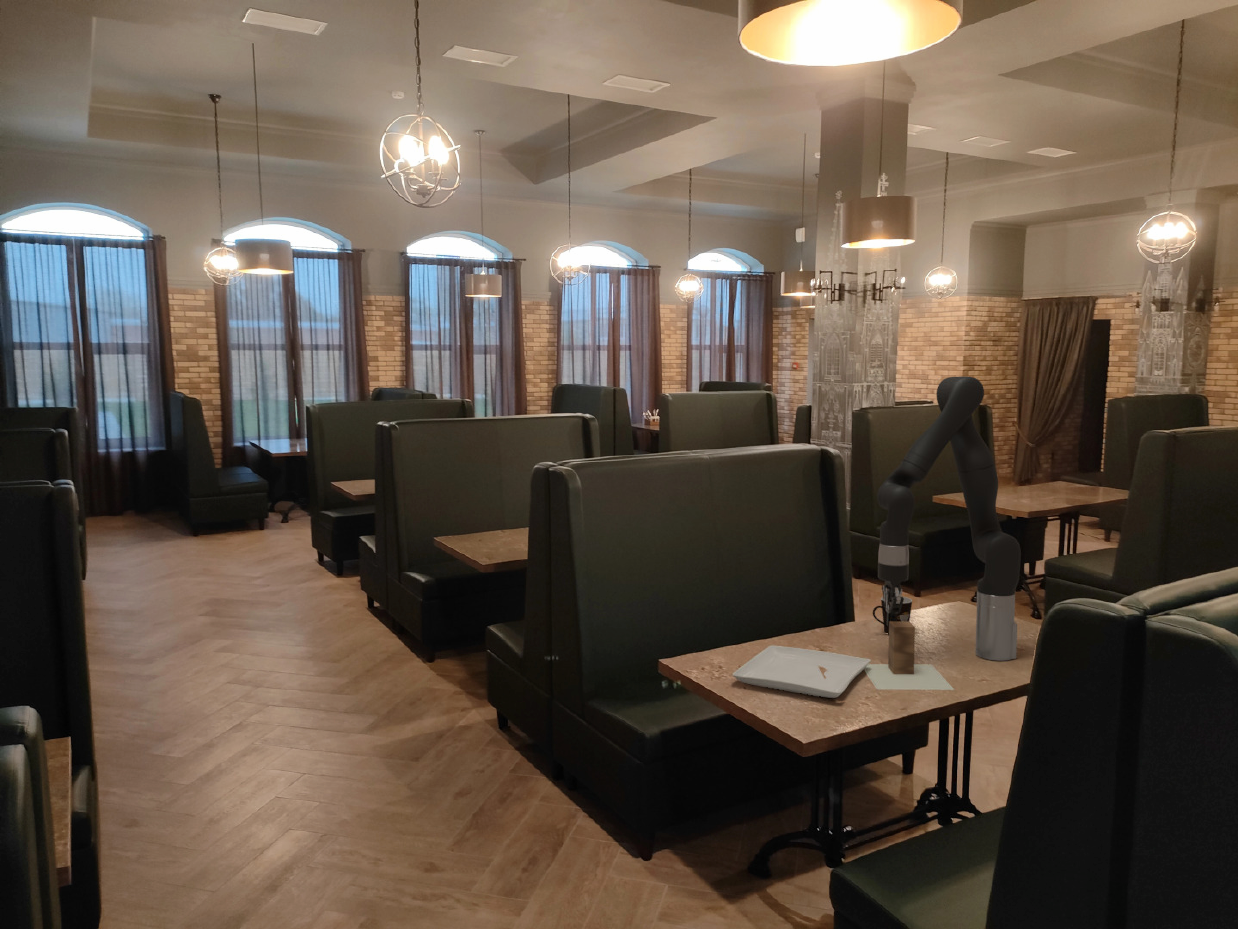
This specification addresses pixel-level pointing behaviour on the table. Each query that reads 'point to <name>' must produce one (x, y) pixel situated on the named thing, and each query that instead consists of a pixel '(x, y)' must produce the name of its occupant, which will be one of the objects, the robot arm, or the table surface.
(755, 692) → the table surface
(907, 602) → the coffee mug
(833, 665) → the square plate
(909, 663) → the walnut block
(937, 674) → the sage mat
